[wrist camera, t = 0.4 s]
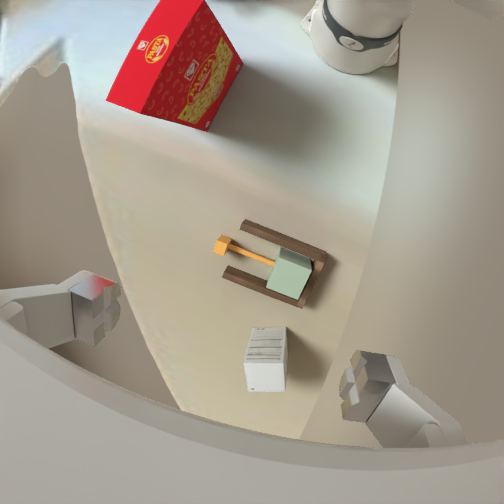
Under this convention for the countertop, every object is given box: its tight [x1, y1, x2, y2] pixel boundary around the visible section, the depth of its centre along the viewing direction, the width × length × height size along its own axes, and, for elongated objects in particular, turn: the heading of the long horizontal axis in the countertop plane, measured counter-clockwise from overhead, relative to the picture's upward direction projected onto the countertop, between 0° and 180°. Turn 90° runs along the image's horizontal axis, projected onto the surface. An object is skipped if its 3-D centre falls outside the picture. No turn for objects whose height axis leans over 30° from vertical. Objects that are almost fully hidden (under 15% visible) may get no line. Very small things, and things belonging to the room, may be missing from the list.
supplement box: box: [243, 327, 288, 392], centre depth 56 cm, size 7×7×13 cm
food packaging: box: [106, 0, 243, 132], centre depth 36 cm, size 15×5×25 cm, turn 153°
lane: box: [222, 219, 327, 309], centre depth 54 cm, size 11×16×4 cm
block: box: [213, 235, 312, 300], centre depth 53 cm, size 6×17×6 cm, turn 70°
